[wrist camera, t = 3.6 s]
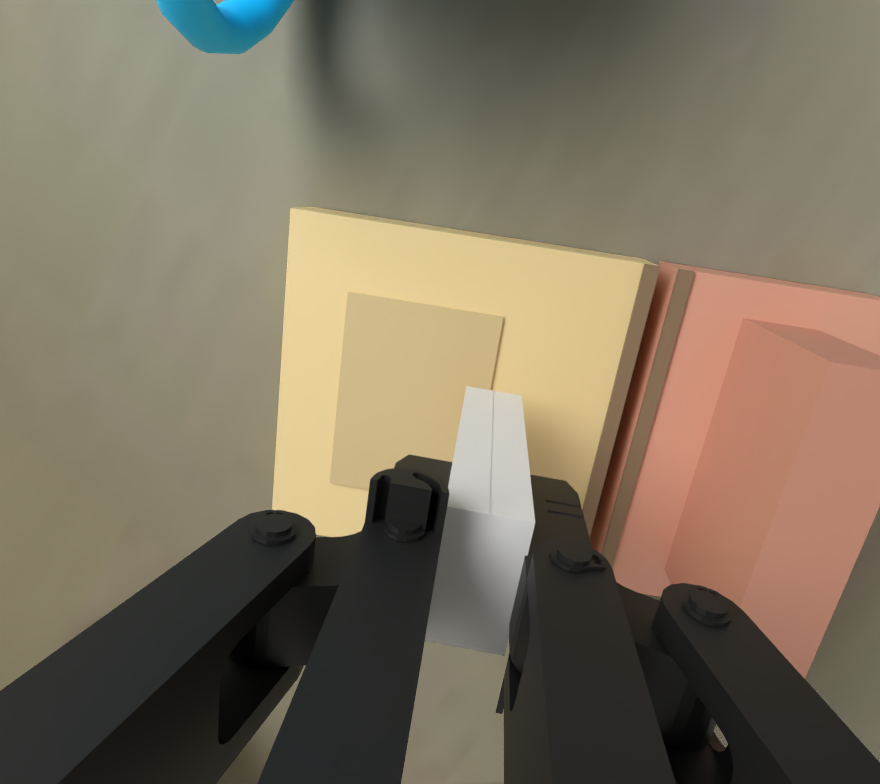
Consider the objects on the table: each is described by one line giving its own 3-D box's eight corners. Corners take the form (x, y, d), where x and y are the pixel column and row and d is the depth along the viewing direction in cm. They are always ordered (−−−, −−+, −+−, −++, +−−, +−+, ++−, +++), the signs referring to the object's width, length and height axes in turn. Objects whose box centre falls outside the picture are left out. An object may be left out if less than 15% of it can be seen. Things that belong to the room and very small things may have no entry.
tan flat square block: (312, 206, 18) (289, 208, 16) (642, 258, 18) (660, 266, 16) (291, 497, 21) (269, 528, 19) (570, 546, 21) (577, 583, 19)
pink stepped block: (659, 261, 18) (743, 295, 12) (865, 293, 17) (1066, 346, 11) (584, 549, 21) (619, 696, 15) (757, 580, 21) (867, 744, 14)
